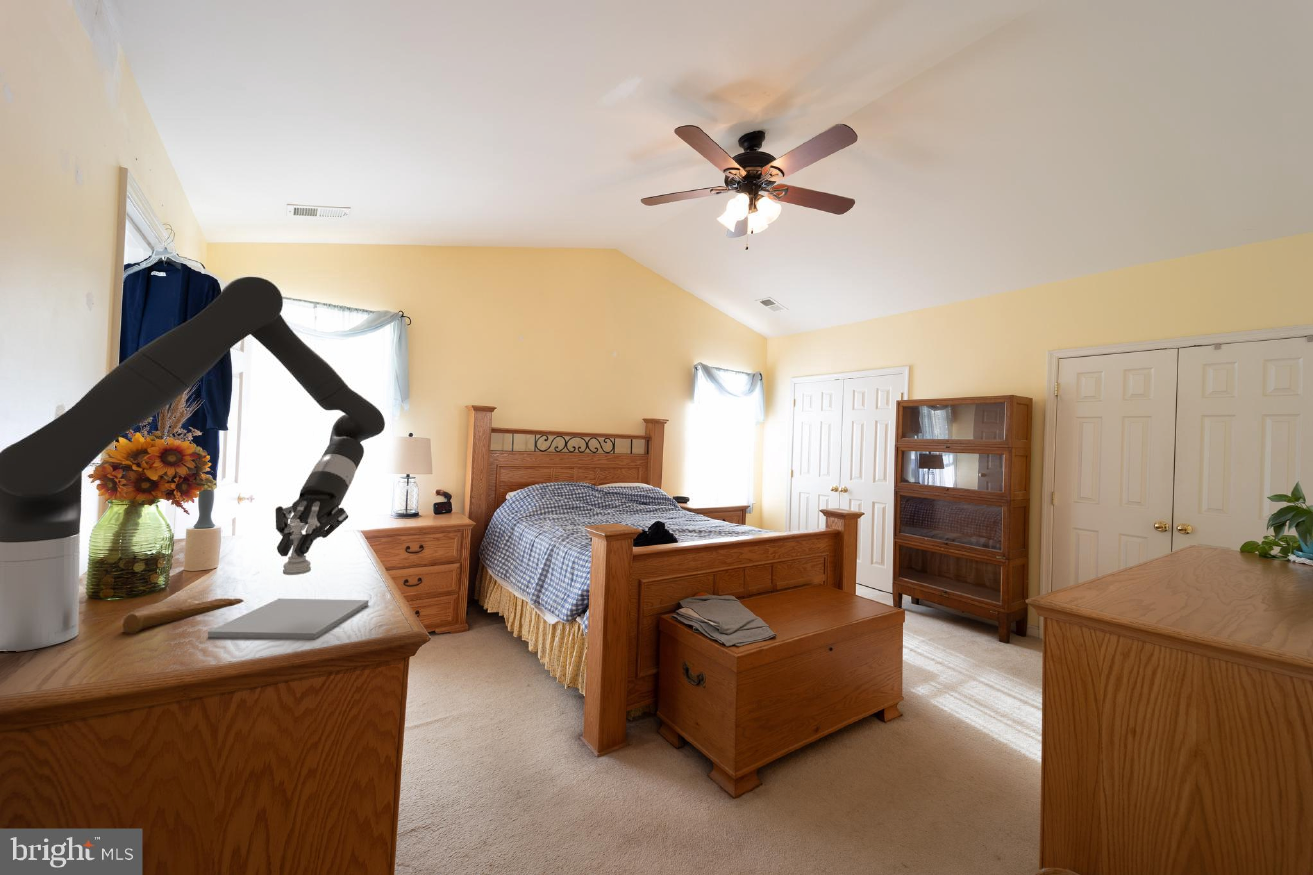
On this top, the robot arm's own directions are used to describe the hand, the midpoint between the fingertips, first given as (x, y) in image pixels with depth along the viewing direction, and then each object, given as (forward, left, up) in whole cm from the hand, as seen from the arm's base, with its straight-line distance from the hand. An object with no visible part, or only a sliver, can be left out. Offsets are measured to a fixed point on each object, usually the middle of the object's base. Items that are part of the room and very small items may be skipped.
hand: (290, 553), depth 99 cm
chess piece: (0, +2, -4) cm, 5 cm away
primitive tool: (-22, +4, -14) cm, 26 cm away
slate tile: (0, +2, -13) cm, 13 cm away
